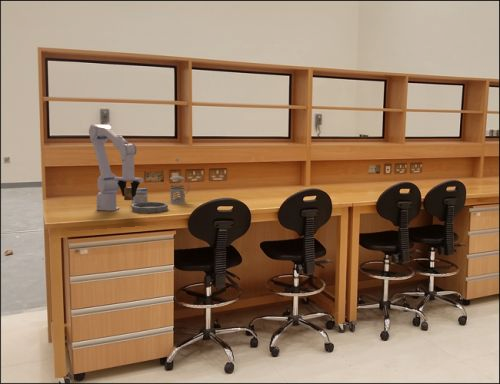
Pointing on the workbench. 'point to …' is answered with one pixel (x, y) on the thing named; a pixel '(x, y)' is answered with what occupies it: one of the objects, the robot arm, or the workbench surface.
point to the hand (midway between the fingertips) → (128, 196)
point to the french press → (177, 188)
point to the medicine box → (140, 196)
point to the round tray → (149, 207)
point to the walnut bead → (128, 193)
